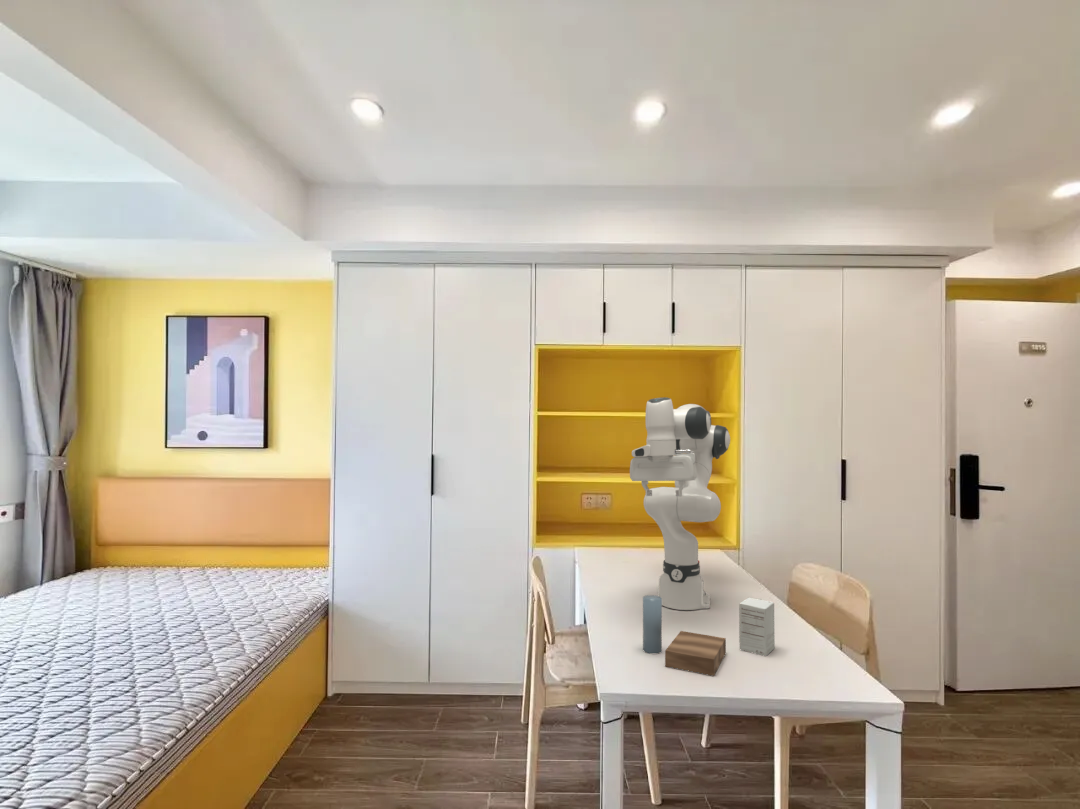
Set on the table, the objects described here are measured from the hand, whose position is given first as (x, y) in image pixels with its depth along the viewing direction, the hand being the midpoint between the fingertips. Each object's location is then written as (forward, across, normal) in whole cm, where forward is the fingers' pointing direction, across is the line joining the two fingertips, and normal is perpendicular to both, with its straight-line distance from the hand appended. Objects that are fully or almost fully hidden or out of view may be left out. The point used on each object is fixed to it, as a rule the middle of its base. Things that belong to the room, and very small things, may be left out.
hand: (663, 496), depth 183 cm
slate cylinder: (+40, -1, +19) cm, 44 cm away
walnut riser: (+41, -13, +19) cm, 47 cm away
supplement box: (+41, -25, +3) cm, 48 cm away
